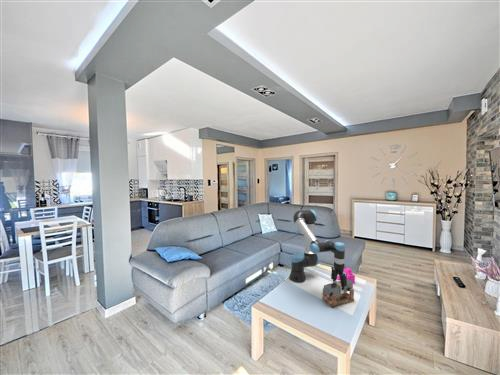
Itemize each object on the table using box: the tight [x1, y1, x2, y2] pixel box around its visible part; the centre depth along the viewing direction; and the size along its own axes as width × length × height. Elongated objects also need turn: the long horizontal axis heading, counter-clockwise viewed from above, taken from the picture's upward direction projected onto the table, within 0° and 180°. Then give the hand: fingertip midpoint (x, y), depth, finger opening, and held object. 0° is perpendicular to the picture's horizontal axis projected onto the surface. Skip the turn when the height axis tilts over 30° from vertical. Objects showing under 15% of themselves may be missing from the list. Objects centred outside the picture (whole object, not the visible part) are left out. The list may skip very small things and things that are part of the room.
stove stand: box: [321, 287, 355, 309], centre depth 165 cm, size 11×22×10 cm, turn 113°
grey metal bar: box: [323, 280, 354, 297], centre depth 165 cm, size 24×6×6 cm, turn 113°
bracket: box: [336, 267, 356, 285], centre depth 195 cm, size 12×10×10 cm
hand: (338, 291), depth 165 cm, fingers closed on grey metal bar, 6 cm apart
